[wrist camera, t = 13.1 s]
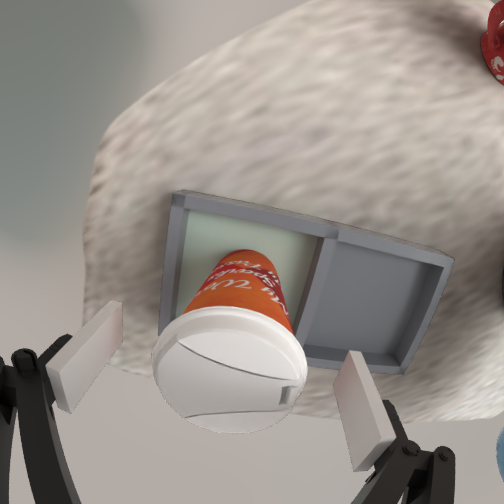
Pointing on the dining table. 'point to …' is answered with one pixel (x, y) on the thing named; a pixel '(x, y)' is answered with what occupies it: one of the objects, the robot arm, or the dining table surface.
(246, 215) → the cup carrier
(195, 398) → the paper cup
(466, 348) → the dining table surface
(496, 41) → the mug
